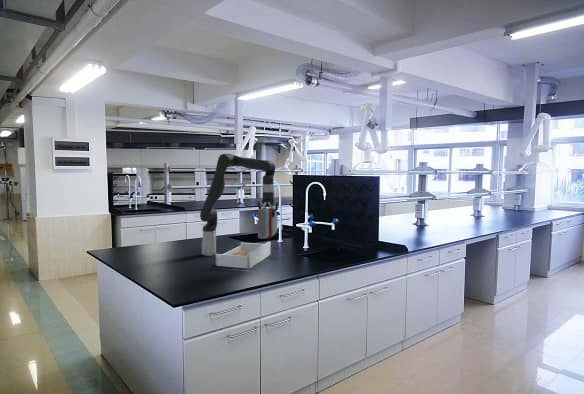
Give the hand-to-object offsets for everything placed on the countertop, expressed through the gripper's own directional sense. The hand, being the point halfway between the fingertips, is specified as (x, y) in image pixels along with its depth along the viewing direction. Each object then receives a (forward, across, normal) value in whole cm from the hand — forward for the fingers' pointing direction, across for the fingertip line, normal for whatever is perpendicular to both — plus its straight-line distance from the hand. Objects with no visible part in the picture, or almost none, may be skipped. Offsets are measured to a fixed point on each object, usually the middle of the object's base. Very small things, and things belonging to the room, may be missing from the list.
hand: (268, 217), depth 239 cm
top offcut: (+27, -20, +1) cm, 34 cm away
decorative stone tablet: (+13, 0, 0) cm, 13 cm away
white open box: (+30, -17, 0) cm, 34 cm away
